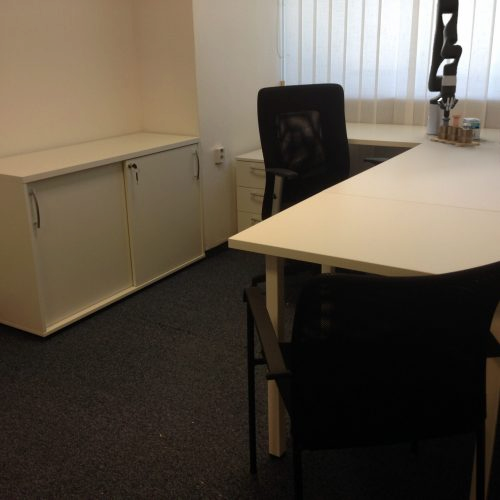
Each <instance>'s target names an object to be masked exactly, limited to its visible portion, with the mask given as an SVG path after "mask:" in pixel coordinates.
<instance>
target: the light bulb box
mask: <svg viewBox="0 0 500 500" xmlns="http://www.w3.org/2000/svg"><path fill="white" fill-rule="evenodd" d="M464 123H468V124H471V126H470V127H469V129H473V137H472V141H473V140H480V137H481V129H482V127H481V126H482V119H480V118H476V117H463V120H462V124H464Z"/></svg>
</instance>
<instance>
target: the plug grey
mask: <svg viewBox="0 0 500 500" xmlns="http://www.w3.org/2000/svg"><path fill="white" fill-rule="evenodd" d="M470 126H471V124H468V123H464V124H463V123H461V127H462V128H463V130H469V127H470Z"/></svg>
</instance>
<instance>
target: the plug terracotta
mask: <svg viewBox="0 0 500 500" xmlns="http://www.w3.org/2000/svg"><path fill="white" fill-rule="evenodd" d="M451 117H452V120H453V121H452V126H453V128H459V127H460V118H461V117H462V114H459V113H454V114H453V113H452V116H451Z"/></svg>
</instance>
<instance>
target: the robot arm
mask: <svg viewBox="0 0 500 500" xmlns="http://www.w3.org/2000/svg"><path fill="white" fill-rule="evenodd" d="M459 1H460V0H437V1H436V12H435V13H436V14H435V30H434V34H433V36H434V37H433V45H432V51H431V52H432V54H431V64H430V71H429V75H428V82H427V90H428V91H429V92H430V93H438V92H439V94H438V95H436V96H434V97H431V98H430V99H429V108H428V117H427V121H426V122H427V123H426V134H427V135H437V136H438V130H439V126H441V125H443V120H442V117H445V118H448V117H450V115H451V113H450V112H451V111H452V110H454V108H455V107H456V105H458V102H459V99H457V98H456V93H457V83H458V82H457V81H458V77H457V75H458V66H459V62H460V59H461V58H462V57H461V56H462V53H463V47H462V46H461V45H460V44H457V43H458V41H459V37H458V36H459V35H458V20H459V11H460V10H459V7H460V2H459ZM450 14H451V17H450V19H449V20H448V21H447V23H446V24H445V23H444V19H443V17H444V16H443V15H450ZM445 60H453V61H452V62H450V63H446V64H444V65H443V68H442V75H440V74H439V75H438V72H439V68H440V67H441V65H442V63H443V62H444V61H445Z"/></svg>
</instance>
